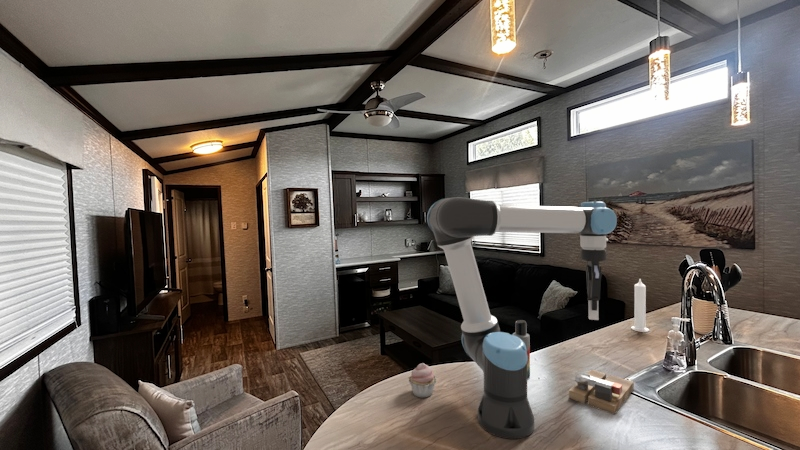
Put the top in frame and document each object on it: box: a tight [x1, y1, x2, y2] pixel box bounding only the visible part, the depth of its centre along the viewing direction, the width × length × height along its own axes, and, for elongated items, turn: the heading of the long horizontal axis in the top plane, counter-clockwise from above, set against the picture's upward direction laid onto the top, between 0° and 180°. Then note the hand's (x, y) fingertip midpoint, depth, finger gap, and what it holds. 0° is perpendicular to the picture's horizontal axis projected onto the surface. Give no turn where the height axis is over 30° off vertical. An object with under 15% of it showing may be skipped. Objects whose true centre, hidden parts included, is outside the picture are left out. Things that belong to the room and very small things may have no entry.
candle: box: [631, 278, 650, 333], centre depth 167 cm, size 7×7×25 cm
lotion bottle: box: [512, 319, 531, 380], centre depth 123 cm, size 6×6×20 cm
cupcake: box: [408, 362, 438, 399], centre depth 113 cm, size 9×9×10 cm
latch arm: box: [574, 371, 622, 395], centre depth 107 cm, size 13×4×2 cm, turn 44°
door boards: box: [568, 369, 635, 415], centre depth 110 cm, size 20×12×6 cm, turn 133°
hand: (593, 319), depth 115 cm, fingers closed
